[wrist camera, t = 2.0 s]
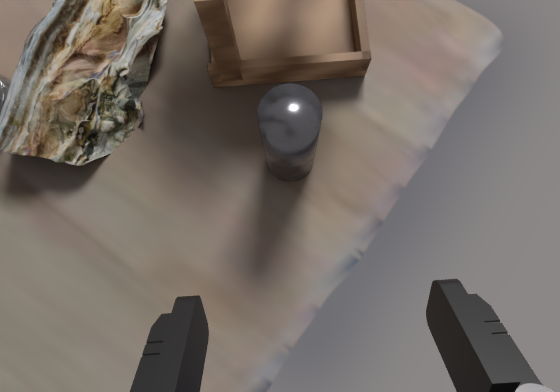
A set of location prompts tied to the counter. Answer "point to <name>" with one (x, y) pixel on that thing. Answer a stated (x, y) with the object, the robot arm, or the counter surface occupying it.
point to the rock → (81, 79)
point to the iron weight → (289, 129)
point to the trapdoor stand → (284, 40)
